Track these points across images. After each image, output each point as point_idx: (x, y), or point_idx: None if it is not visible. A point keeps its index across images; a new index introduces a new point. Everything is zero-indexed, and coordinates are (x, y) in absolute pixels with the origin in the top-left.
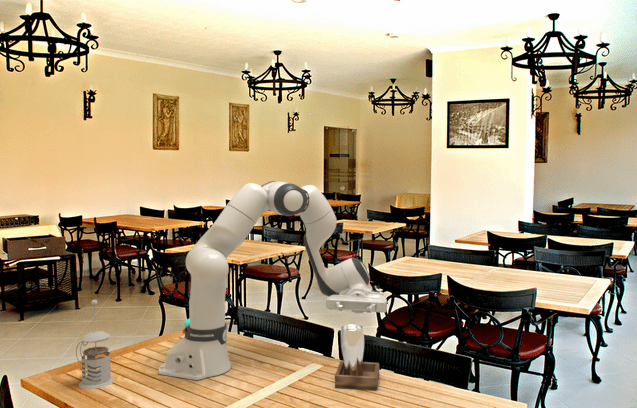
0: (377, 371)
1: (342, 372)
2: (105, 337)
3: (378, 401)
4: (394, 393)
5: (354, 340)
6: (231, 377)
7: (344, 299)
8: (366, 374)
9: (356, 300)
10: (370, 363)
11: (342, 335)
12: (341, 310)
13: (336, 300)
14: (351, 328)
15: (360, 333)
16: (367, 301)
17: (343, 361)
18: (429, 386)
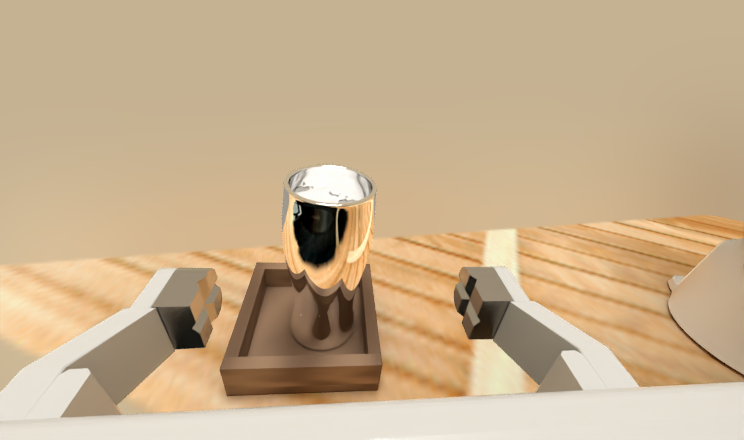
0: (245, 299)
1: (364, 349)
2: None
3: (264, 249)
4: (216, 280)
5: (318, 195)
6: (631, 303)
7: (564, 415)
8: (280, 349)
9: (337, 412)
10: (259, 359)
11: (363, 193)
12: (457, 295)
13: (655, 386)
14: (337, 222)
15: (296, 182)
16: (116, 417)
17: (369, 361)
18: (79, 327)
